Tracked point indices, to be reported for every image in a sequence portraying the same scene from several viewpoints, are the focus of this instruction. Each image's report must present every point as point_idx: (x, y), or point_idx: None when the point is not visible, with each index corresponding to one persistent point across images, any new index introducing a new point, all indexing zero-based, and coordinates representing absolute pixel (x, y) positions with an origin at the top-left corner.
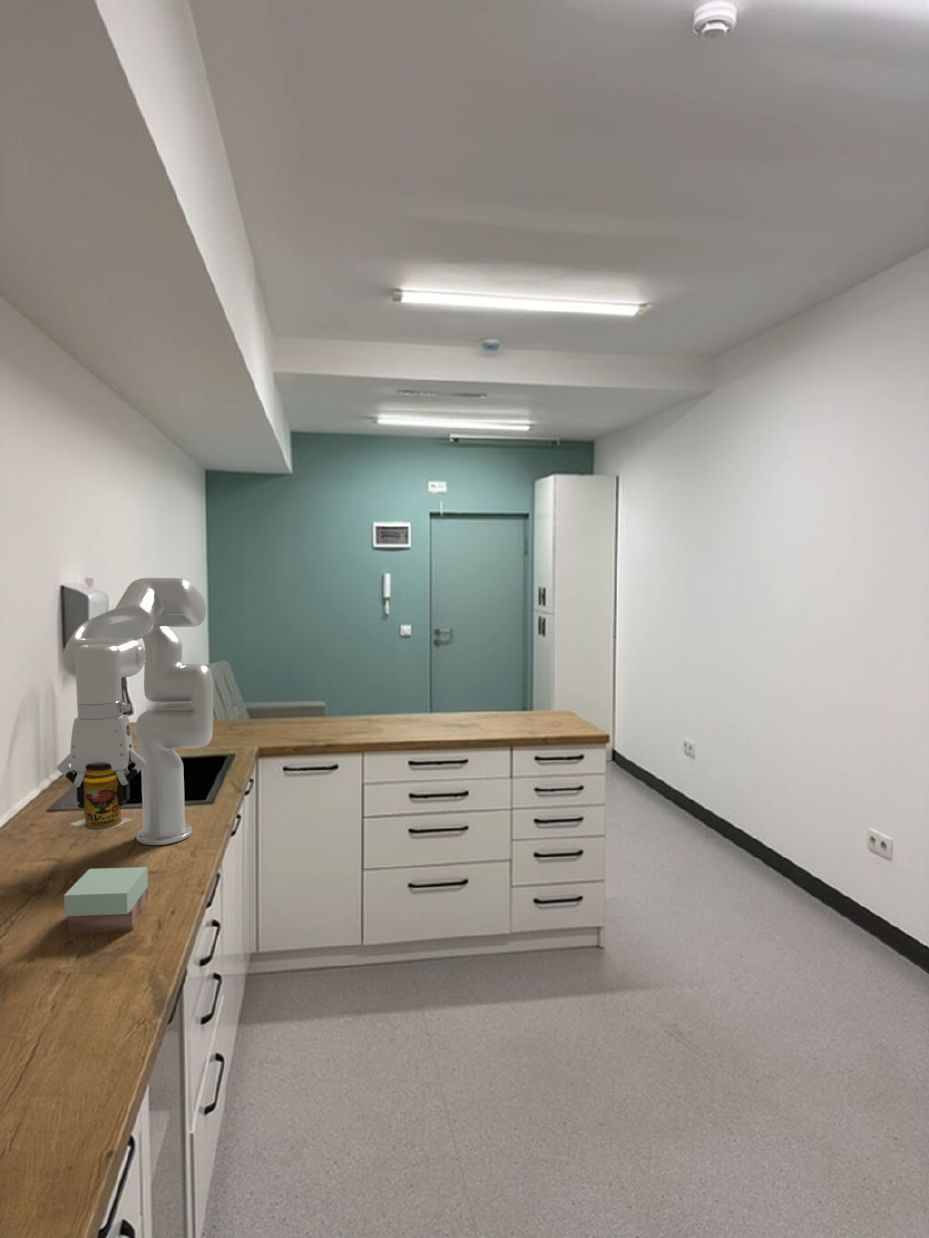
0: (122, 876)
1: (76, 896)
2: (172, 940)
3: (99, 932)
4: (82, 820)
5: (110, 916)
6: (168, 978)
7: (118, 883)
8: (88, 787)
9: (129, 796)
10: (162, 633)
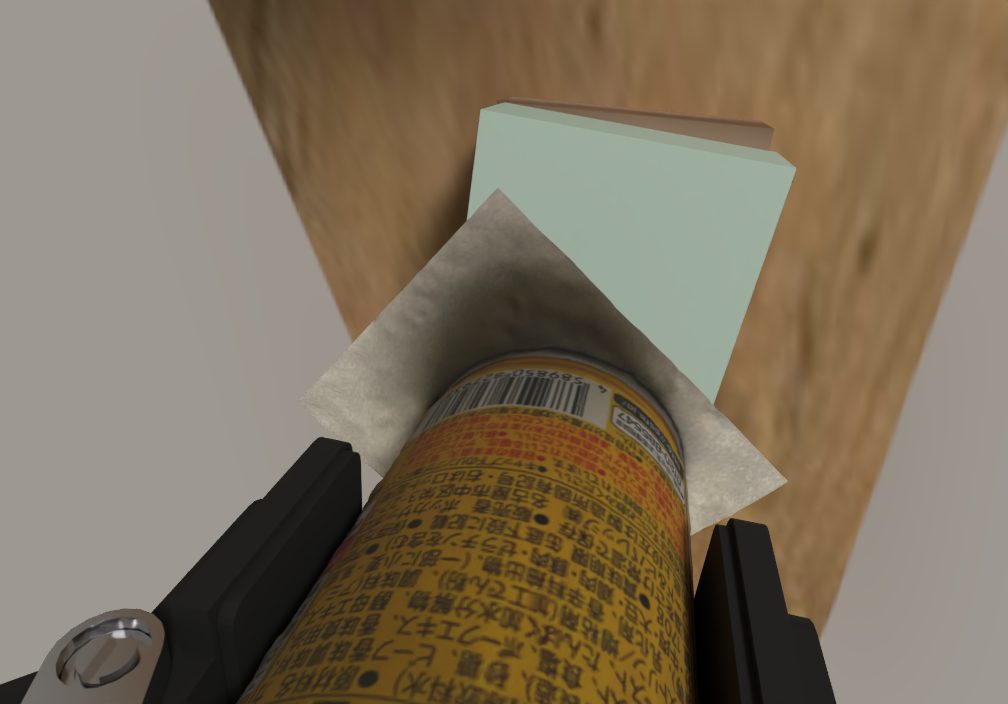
0: (666, 257)
1: None
2: (844, 456)
3: None
4: (369, 359)
5: None
6: (816, 629)
7: (655, 334)
8: None
9: (808, 627)
10: None
